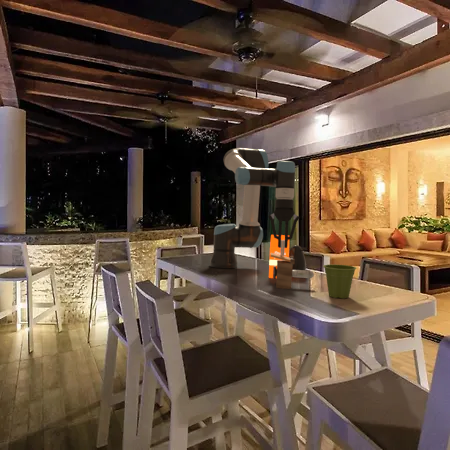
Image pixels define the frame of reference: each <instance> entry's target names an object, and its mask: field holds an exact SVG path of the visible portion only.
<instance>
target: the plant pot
mask: <svg viewBox="0 0 450 450" xmlns="http://www.w3.org/2000/svg"><path fill="white" fill-rule="evenodd" d="M322 267H323V268H324V272H325V276H326V286H327V292H328V293H327V294H328V296H329V297H330V298H333V299H334V298H335V299H337V298H340V299H348V298H349V297H350V293H351V288H352V283H353V277H354V275H355V272H356V269H357V267H356V266H353V265H348V264H335V263H334V264H324V265H323V266H322Z"/></svg>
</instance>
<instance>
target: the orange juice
mask: <svg viewBox="0 0 450 450" xmlns="http://www.w3.org/2000/svg"><path fill="white" fill-rule="evenodd" d="M276 235H277V236H278V234H276ZM281 240H285V234H284V235H283V234H281ZM269 246H270V247H269V261H268V263H269V264H268V267H269V268H268V278H269V279H273V266H276V269H277V260H281V259H277V258H274V257H270V256H271V253H275V254H278V255H280V251H281V248H278V239H276V238H274V235H273V234H271V235H270V245H269ZM289 250H290V239H289V240H288V246H287V248H285V251H284V256H286V257H289ZM282 252H283V249H282ZM276 278H277V276H276Z"/></svg>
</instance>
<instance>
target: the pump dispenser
mask: <svg viewBox="0 0 450 450" xmlns="http://www.w3.org/2000/svg"><path fill="white" fill-rule="evenodd" d="M304 251H307V247H301V246H300V245H298V244H294V245H292V246H291V247H289V257H290V256H293V259H295V261H294V264H292V270H305V271H307V263H306V258H305V254H304Z"/></svg>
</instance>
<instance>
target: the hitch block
mask: <svg viewBox="0 0 450 450" xmlns="http://www.w3.org/2000/svg"><path fill="white" fill-rule="evenodd" d="M290 258H293V256H290ZM294 261H295V259H290V262H289V261H285V260H277V278H276V279H275V280H276V282H275V288H276V289H285V290H286V289H288V290H292V279H293V277H292V264H294Z"/></svg>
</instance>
